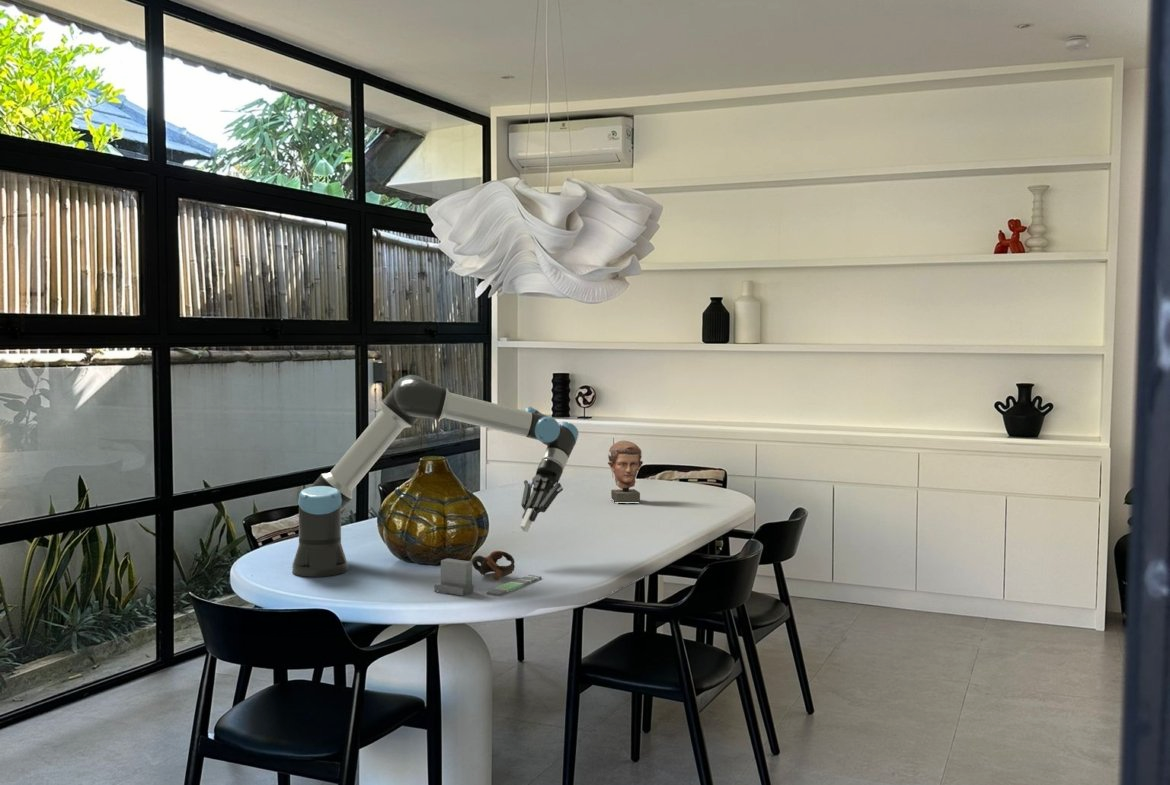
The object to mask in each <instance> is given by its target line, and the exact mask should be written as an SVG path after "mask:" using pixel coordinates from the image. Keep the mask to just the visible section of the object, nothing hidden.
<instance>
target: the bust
mask: <svg viewBox="0 0 1170 785" xmlns="http://www.w3.org/2000/svg"><path fill="white" fill-rule="evenodd" d="M607 456H608V457H607V458H608V462H607V464H608V466H609V467H610V470H611V472H612V473H613V475H614V482H615V485H616V486H617V487H618V488H619V489H611V491H610V492H611V498H612V499H613V500H614V501H615V502H640V503H641V493H640V491H638V490H636V489H635V488H633V487H635V484H636V477H637V474H638V471H639V470H640V468H641V467H642V465H643V464H644V462H643V460H641V459H642V458H643V457H642V456H643V454H642V450H641V448H640V447H639V446H638V445H637V444H636V443H634V442H633V441H629V440H619V441H617V442H615V443H614V444H612V445H611V446H610V448H609V450H608V455H607ZM615 502H614V503H615Z"/></svg>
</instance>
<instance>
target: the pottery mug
mask: <svg viewBox="0 0 1170 785" xmlns="http://www.w3.org/2000/svg"><path fill="white" fill-rule="evenodd" d="M503 557H504V558H505V560H506V561H508V562H510V564H508V565H498V563H497V562H498V561H499V560H500V559H502V558H503ZM471 560H472V561H471V562H472V568H474V569H475V570H476V571H478V572H479V574H480V575H483V576H485V574H488V573H491V572H492V573H494V575H493V577H492V579H493V580H495V581H496V580H497V582H498V581H499V580H501V578H504V577H507V576H509V575H512V574H513V572H514V571H515V567H516V566H515V558H514V557H513V555H511V554H510V553H509V552H506V551H501V550H494V551H492V552H491V553H490V554H489V555H487V556H486V557H485V556H482V555H476V556H474V557H473V559H471ZM479 564H480V565H479Z"/></svg>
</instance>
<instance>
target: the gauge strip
mask: <svg viewBox="0 0 1170 785" xmlns="http://www.w3.org/2000/svg"><path fill="white" fill-rule="evenodd" d="M542 578H543V577H542V576H541V575H535V574H528V575H525V576H522V577H520V578H517V579H514V580H513V581H509V582H507V583H504V584H501V585H499V586H496V587H494V588H492V589H490V590H487V591H485V592H486V595H490V594H491V596H497V597H498V596H499V597H500V596H502V595H505V594H508V593H510V592H513V591H514V590H517V588H518V589H520V588H522V587H525V586H528V585H529V584H532V583H535V582H537V581H539V579H540V580H541V579H542ZM542 580H543V579H542ZM512 590H513V591H512ZM509 591H510V592H509ZM507 592H508V593H507Z"/></svg>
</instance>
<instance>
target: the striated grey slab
mask: <svg viewBox="0 0 1170 785" xmlns="http://www.w3.org/2000/svg"><path fill="white" fill-rule="evenodd" d="M474 587H475V585H474V584H473V564H472V561H470V560H463V559H462V560H461V559H456V558H455V559H454V558H448V557H447V558H444V559H441V560H440V582H436V583H434V592H435V591H438V592H437V593H440V592H444V593H443V594H447V593H450V594H449V595H453V594H455V595H454V596H459V595H460V597H464V596H467V595H470V594H471V593H472V594H473V593H474Z"/></svg>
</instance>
